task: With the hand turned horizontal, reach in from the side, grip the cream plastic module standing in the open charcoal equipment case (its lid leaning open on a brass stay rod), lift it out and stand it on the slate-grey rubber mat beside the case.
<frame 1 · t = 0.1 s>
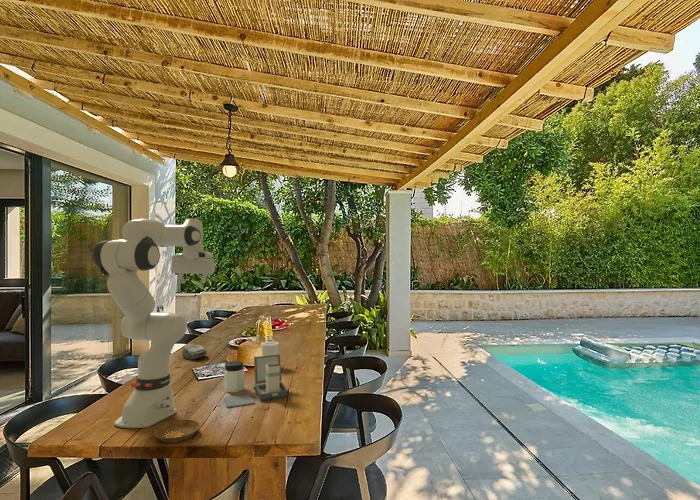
hand: (193, 283, 193), 48 cm above the table, tool pointing down, fingers open, 8 cm apart
case: (271, 395, 182), on the table
plant saucer: (177, 436, 142), on the table
lid: (267, 369, 189), point 9 cm above the table, hinge at 108.0°
decorative stone: (194, 358, 244), on the table
jar: (234, 389, 189), on the table
module: (272, 392, 180), point 2 cm above the table, touching case
foam cup: (269, 367, 225), on the table
mat: (239, 401, 174), on the table
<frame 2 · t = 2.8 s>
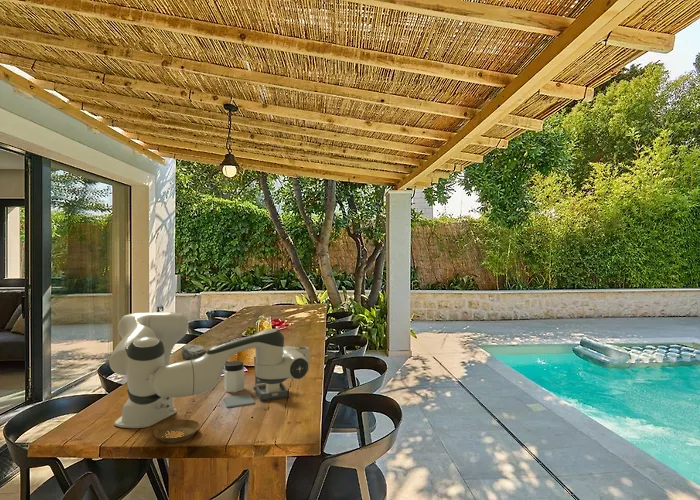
hand: (279, 350, 169), 23 cm above the table, tool horizontal, fingers open, 8 cm apart
nothing on the table moved.
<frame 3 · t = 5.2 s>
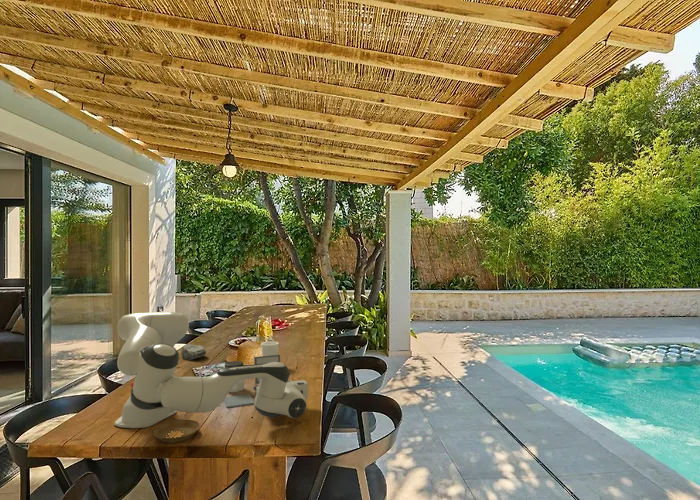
hand: (278, 383, 173), 8 cm above the table, tool horizontal, fingers open, 8 cm apart
nothing on the table moved.
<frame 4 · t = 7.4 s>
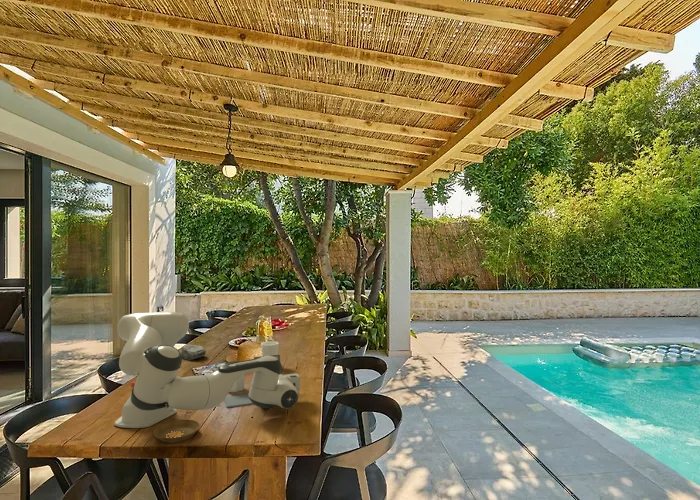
hand: (272, 376, 181), 8 cm above the table, tool horizontal, fingers closed on module, 5 cm apart
module: (272, 392, 180), point 2 cm above the table, touching case, gripper
everything else where it was.
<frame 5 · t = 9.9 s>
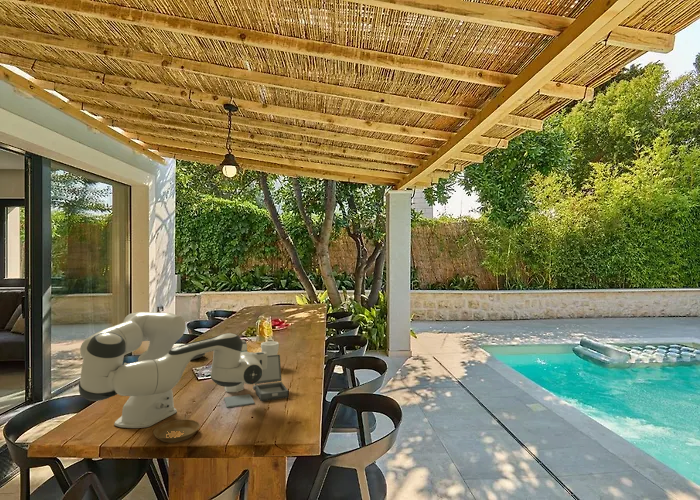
hand: (239, 355, 175), 19 cm above the table, tool horizontal, fingers closed on module, 5 cm apart
module: (239, 371, 175), point 12 cm above the table, touching gripper
when the fingers open (9 cm above the table, at t = 12.3 s): module drops 1 cm, resting on mat.
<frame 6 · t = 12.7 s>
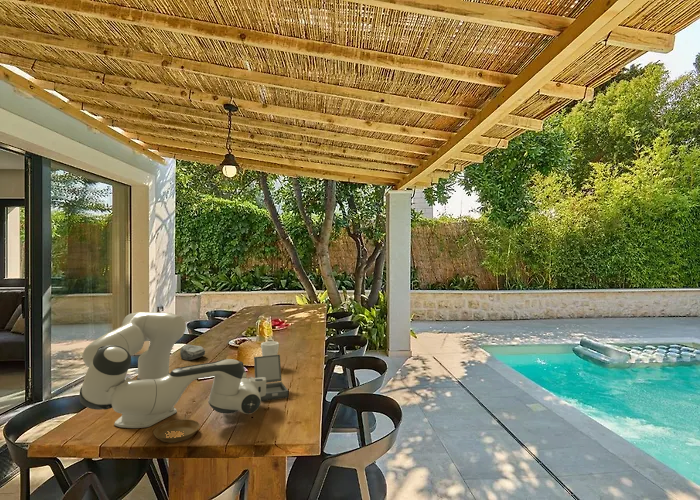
hand: (238, 380, 175), 9 cm above the table, tool horizontal, fingers open, 8 cm apart
module: (239, 400, 174), point 1 cm above the table, touching mat
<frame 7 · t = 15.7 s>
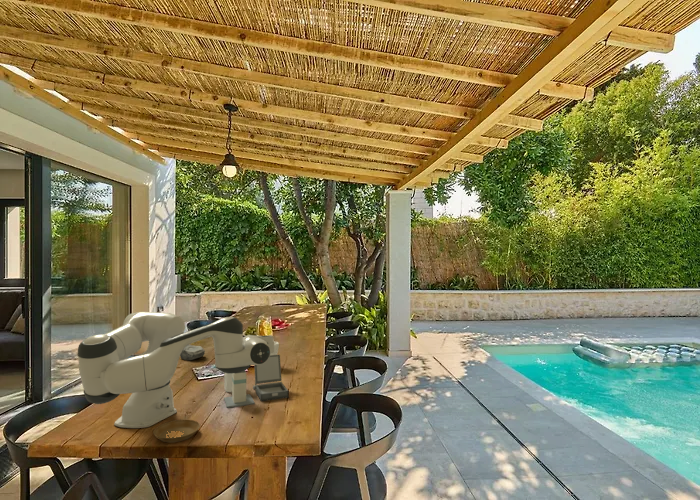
hand: (243, 343, 164), 27 cm above the table, tool horizontal, fingers open, 8 cm apart
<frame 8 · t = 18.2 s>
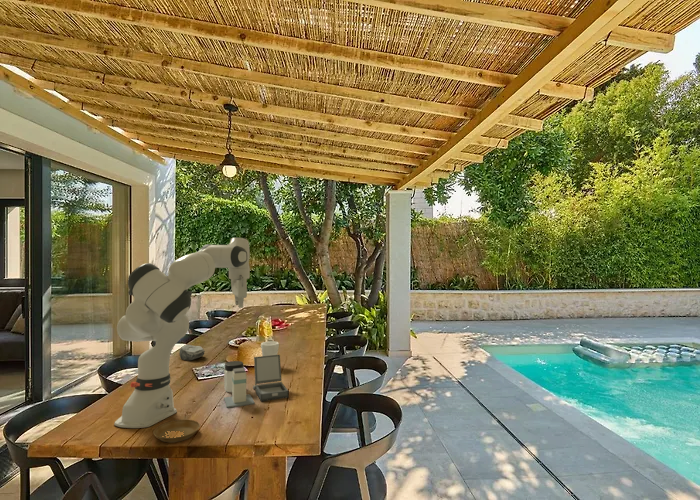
hand: (239, 306, 181), 39 cm above the table, tool pointing down, fingers open, 8 cm apart
at the end: module inside the target area on the mat (0.1 cm from its centre), point 0.6 cm above the mat's base; module tilted 0°; the gripper is holding nothing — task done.
